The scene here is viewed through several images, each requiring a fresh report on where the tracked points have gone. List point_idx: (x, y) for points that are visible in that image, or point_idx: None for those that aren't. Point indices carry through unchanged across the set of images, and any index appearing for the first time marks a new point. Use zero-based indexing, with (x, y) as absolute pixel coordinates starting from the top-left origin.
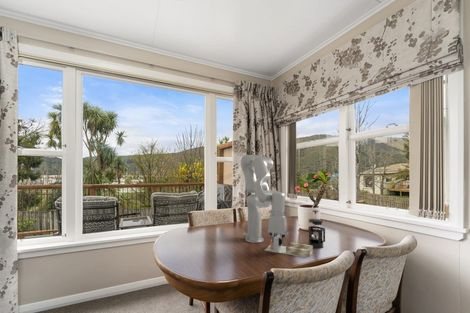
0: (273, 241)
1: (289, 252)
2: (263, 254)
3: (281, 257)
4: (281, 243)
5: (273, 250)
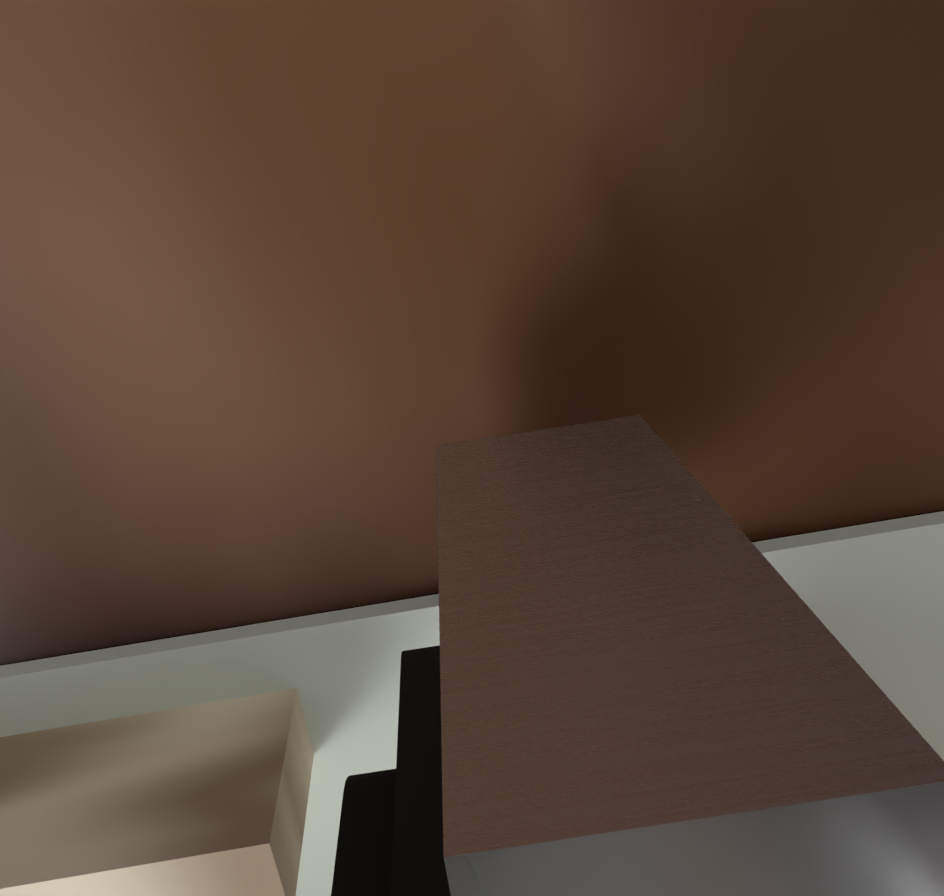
0: (803, 606)
1: (172, 736)
2: (926, 177)
3: (261, 311)
4: (349, 795)
5: (645, 428)
